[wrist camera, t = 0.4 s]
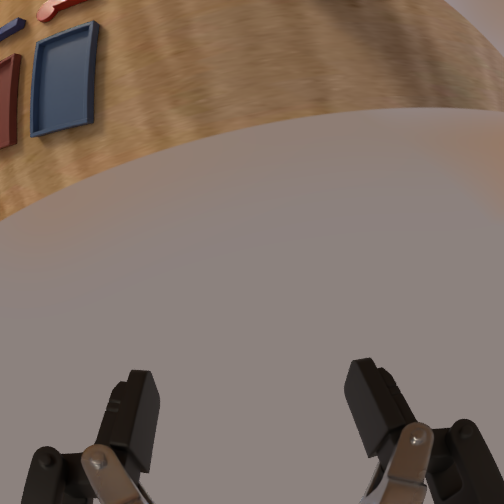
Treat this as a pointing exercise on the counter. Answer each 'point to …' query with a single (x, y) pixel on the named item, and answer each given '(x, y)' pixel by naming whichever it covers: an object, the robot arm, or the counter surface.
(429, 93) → the counter surface
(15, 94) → the red tray
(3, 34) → the blue spoon
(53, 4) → the red spoon
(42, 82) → the blue tray
